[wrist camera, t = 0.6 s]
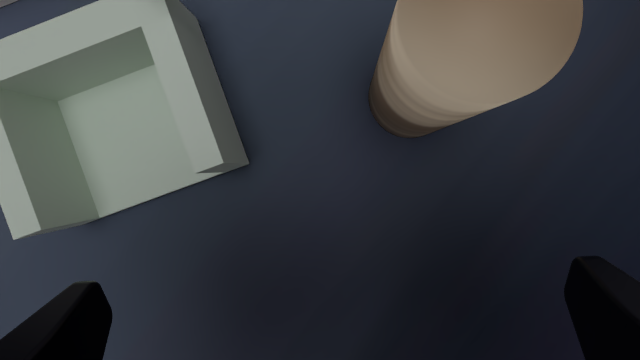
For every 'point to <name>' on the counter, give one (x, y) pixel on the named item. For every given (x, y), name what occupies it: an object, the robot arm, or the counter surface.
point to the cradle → (108, 114)
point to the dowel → (467, 58)
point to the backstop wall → (6, 2)
